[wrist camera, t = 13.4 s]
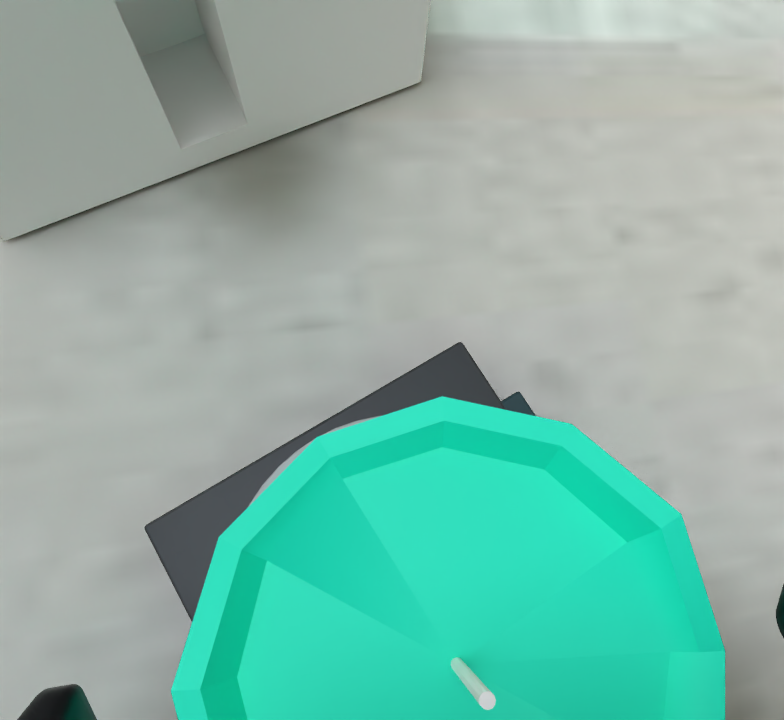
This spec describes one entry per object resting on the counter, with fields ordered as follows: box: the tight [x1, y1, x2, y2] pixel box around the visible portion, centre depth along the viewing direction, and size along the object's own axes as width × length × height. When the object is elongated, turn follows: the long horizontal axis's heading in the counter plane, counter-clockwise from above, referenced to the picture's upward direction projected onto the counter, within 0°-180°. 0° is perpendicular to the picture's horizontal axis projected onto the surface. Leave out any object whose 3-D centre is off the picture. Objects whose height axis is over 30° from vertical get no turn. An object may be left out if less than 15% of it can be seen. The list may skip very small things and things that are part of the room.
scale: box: [145, 342, 535, 621], centre depth 19 cm, size 11×10×3 cm
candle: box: [171, 396, 725, 720], centre depth 12 cm, size 6×6×12 cm
